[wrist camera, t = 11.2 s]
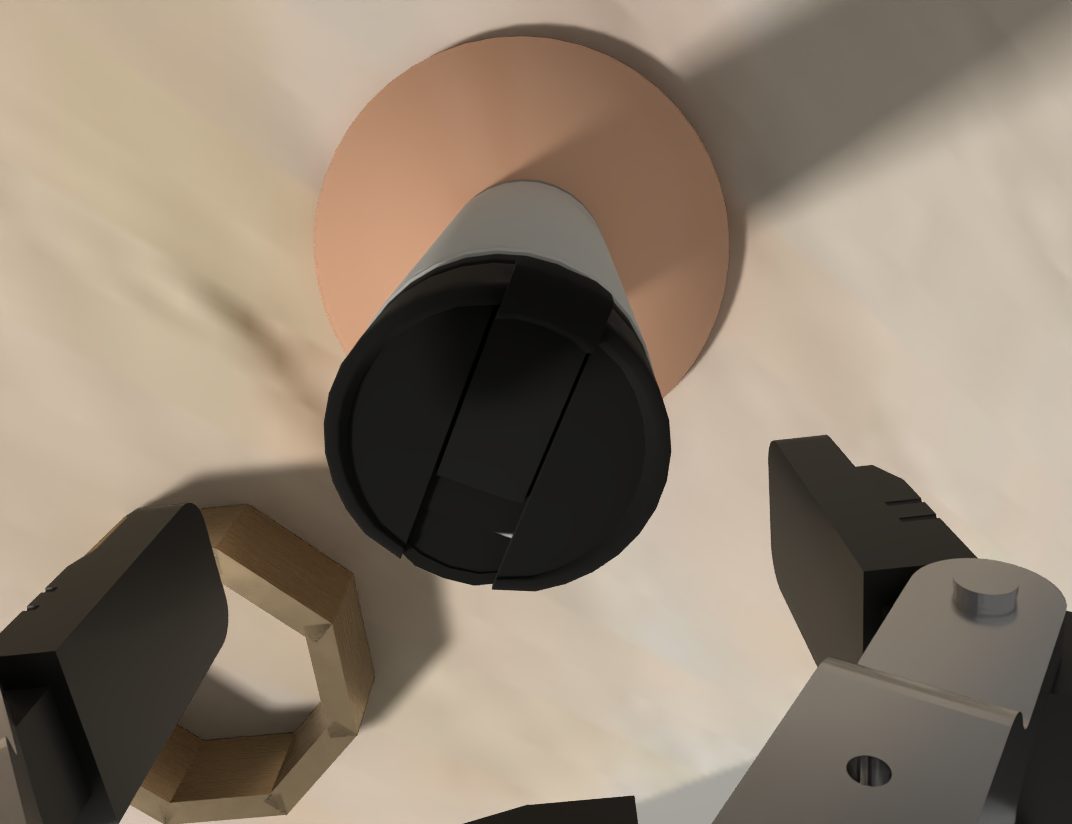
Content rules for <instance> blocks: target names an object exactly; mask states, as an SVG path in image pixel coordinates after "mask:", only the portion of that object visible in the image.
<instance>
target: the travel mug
mask: <svg viewBox="0 0 1072 824" xmlns="http://www.w3.org/2000/svg"><path fill="white" fill-rule="evenodd" d="M324 439H325V454H326V458H327V462H328V466H329V469H330V473H331V477H332V481H333V483H334V485H335V487H336V489H337V491H338V493H339V496H340V498H341V500H342V502H343V504H344V506H345V508H346V509H347V511H348V512H349V513H350V515H351V516H352V517H353V519H354V520H355V521H356V523H357V524H358V525H359V527H360V528H361V529H362V530H363V532H364V533H365V534H366V535H368V536H369V537H370V538H372V539H373V540H375V541H376V542H378V543H379V544H380V545H382V546H383V547H385V548H386V549H387V550H389V551H390V552H392V553H393V554H395V555H396V556H397V557H399V558H400V559H401V556H402V553H403V554H404V555H405V556H406V557H407V558H408V559H409V560H410V561H411V562H412V563H413V564H414V565H415V566H417V567H420V568H422V569H424V570H426V571H429V572H431V573H433V574H436V575H438V576H440V577H443V578H446V579H450V580H454V581H458V582H462V583H466V584H470V585H484V584H493V585H492V589H493V590H516V591H539V590H543V589H547V588H551V587H555V586H559V585H563V584H566V583H569V582H571V581H573V580H576V579H578V578H580V577H582V576H585V575H587V574H589V573H592V572H594V571H595V570H597V569H598V568H600V567H601V566H603V565H604V564H605V563H607V562H608V561H610V560H611V559H613V558H614V557H616V556H617V555H619V554H620V553H621V552H622V551H623V550H624V549H625V548H626V547H627V546H628V545H629V544H630V543H631V542H632V541H633V540H634V539H635V538H636V537H637V536H638V535H639V534H640V532H641V531H642V529H643V528H644V526H645V525H646V523H647V522H648V520H649V519H650V517H651V516H652V514H653V513H654V511H655V509H656V507H657V505H658V502H659V500H660V497H661V494H662V492H663V489H664V487H665V484H666V482H667V476H668V469H669V463H670V456H671V440H670V427H669V418H668V415H667V412H666V408H665V405H664V402H663V399H662V395H661V392H660V389H659V386H658V384H657V381H656V379H655V376H654V371H653V367H652V364H651V361H650V358H649V354H648V351H647V348H646V344H645V342H644V339H643V337H642V334H641V331H640V329H639V326H638V324H637V321H636V319H635V316H634V314H633V311H632V309H631V306H630V304H629V301H628V299H627V296H626V294H625V291H624V288H623V286H622V283H621V281H620V278H619V276H618V273H617V271H616V268H615V266H614V263H613V261H612V258H611V256H610V253H609V251H608V248H607V245H606V243H605V240H604V238H603V236H602V233H601V230H600V228H599V226H598V225H597V223H596V221H595V219H594V217H593V215H592V214H591V213H590V212H589V211H588V209H587V208H586V207H585V206H584V205H583V203H582V202H581V201H579V200H578V199H577V198H576V197H574V196H573V195H572V194H571V193H569V192H567V191H565V190H564V189H562V188H560V187H558V186H556V185H553V184H550V183H546V182H543V181H539V180H527V179H519V180H512V181H505V182H502V183H499V184H497V185H494V186H491V187H489V188H487V189H485V190H484V191H482V192H480V193H479V194H477V195H476V196H475V197H473V198H472V199H471V200H470V201H469V202H468V203H467V204H466V205H465V206H464V207H463V208H462V209H461V210H460V212H459V213H458V214H457V215H456V216H455V218H454V219H453V220H452V221H451V223H450V224H449V225H448V226H447V227H446V229H445V230H444V231H443V232H442V234H441V235H440V236H439V237H438V238H437V240H436V241H435V242H434V243H433V245H432V246H431V247H430V248H429V249H428V251H427V252H426V253H425V254H424V255H423V257H422V258H421V259H420V260H419V262H418V263H417V264H416V265H415V266H414V268H413V269H412V270H411V271H410V273H409V274H408V275H407V276H406V277H405V279H404V280H403V281H402V282H401V283H400V285H399V286H398V287H397V288H396V290H395V291H394V292H393V293H392V295H391V296H390V297H389V298H388V299H387V301H386V302H385V303H384V305H383V306H382V308H381V309H380V310H379V312H378V313H377V314H376V316H375V317H374V319H373V320H372V321H371V323H370V324H369V326H368V329H367V330H366V331H365V333H364V334H363V335H362V336H361V338H360V339H359V340H358V342H357V343H356V344H355V346H354V347H353V349H352V350H351V351H350V353H349V354H348V356H347V357H346V358H345V360H344V361H343V362H342V364H341V366H340V368H339V371H338V373H337V375H336V378H335V380H334V383H333V385H332V387H331V390H330V392H329V396H328V402H327V408H326V413H325V419H324Z"/></svg>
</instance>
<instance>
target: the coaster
mask: <svg viewBox="0 0 1072 824" xmlns="http://www.w3.org/2000/svg"><path fill="white" fill-rule="evenodd" d="M519 179H527V180H539V181H543V182H546V183H550V184H553V185H556V186H558V187H560V188H562V189H564V190H565V191H567V192H569V193H571V194H572V195H573V196H574V197H576V198H577V199H578V200H579V201H581V202H582V203H583V205H584V206H585V207H586V208H587V209H588V211H589V212H590V213H591V214H592V215H593V217H594V219H595V221H596V223H597V225H598V226H599V228H600V230H601V233H602V236H603V238H604V240H605V243H606V245H607V248H608V251H609V253H610V256H611V258H612V261H613V263H614V266H615V268H616V271H617V273H618V276H619V278H620V281H621V283H622V286H623V288H624V291H625V294H626V296H627V299H628V301H629V304H630V306H631V309H632V311H633V314H634V316H635V319H636V321H637V324H638V326H639V329H640V331H641V334H642V337H643V339H644V342H645V344H646V348H647V351H648V354H649V358H650V361H651V364H652V367H653V371H654V376H655V379H656V381H657V384H658V386H659V389H660V392H661V395H662V399H663V398H664V397H665V396H666V395H667V394H668V393H669V392H670V391H671V390H672V389H673V388H674V387H675V386H676V385H677V384H678V383H679V381H680V380H681V379H682V377H683V376H684V375H685V374H686V372H687V371H688V370H689V368H690V367H691V366H692V365H693V363H694V362H695V360H696V358H697V357H698V355H699V353H700V352H701V350H702V348H703V346H704V345H705V343H706V341H707V339H708V337H709V335H710V332H711V330H712V328H713V325H714V323H715V321H716V319H717V316H718V312H719V309H720V306H721V302H722V299H723V295H724V292H725V286H726V279H727V273H728V266H729V229H728V220H727V211H726V206H725V202H724V198H723V194H722V190H721V186H720V182H719V179H718V177H717V174H716V172H715V169H714V167H713V164H712V162H711V159H710V157H709V155H708V153H707V151H706V149H705V147H704V146H703V144H702V142H701V140H700V139H699V137H698V135H697V133H696V131H695V130H694V129H693V127H692V126H691V125H690V123H689V122H688V121H687V119H686V118H685V117H684V115H683V114H682V113H681V111H680V110H679V109H678V108H677V107H676V106H675V105H674V104H673V103H672V102H671V101H670V100H669V99H668V98H667V97H666V96H665V95H664V94H663V93H662V92H661V91H660V90H659V89H658V88H657V87H656V86H655V85H653V84H652V83H651V82H649V81H648V80H647V79H646V78H644V77H643V76H642V75H640V74H639V73H638V72H636V71H635V70H633V69H632V68H630V67H628V66H626V65H624V64H623V63H621V62H619V61H617V60H616V59H614V58H612V57H610V56H608V55H606V54H603V53H600V52H598V51H595V50H593V49H590V48H587V47H585V46H582V45H579V44H574V43H570V42H566V41H561V40H557V39H553V38H541V37H529V36H514V37H497V38H490V39H485V40H480V41H475V42H470V43H465V44H462V45H459V46H457V47H454V48H451V49H448V50H445V51H443V52H440V53H437V54H435V55H433V56H431V57H430V58H428V59H426V60H424V61H422V62H420V63H418V64H416V65H414V66H412V67H411V68H410V69H408V70H407V71H405V72H404V73H403V74H401V75H400V76H398V77H397V78H396V79H394V80H393V81H391V82H390V83H389V84H388V85H387V86H386V87H384V88H383V89H382V90H381V91H380V92H379V93H378V94H377V95H376V96H375V97H374V98H373V99H372V100H371V101H370V102H369V103H368V104H367V105H366V106H365V108H364V109H363V110H362V112H361V113H360V114H359V115H358V117H357V118H356V119H355V120H354V122H353V123H352V124H351V125H350V127H349V129H348V130H347V132H346V134H345V136H344V137H343V139H342V141H341V142H340V144H339V146H338V148H337V149H336V151H335V154H334V156H333V158H332V161H331V163H330V166H329V168H328V170H327V173H326V175H325V179H324V182H323V186H322V190H321V194H320V197H319V201H318V207H317V215H316V223H315V264H316V271H317V279H318V285H319V289H320V293H321V296H322V300H323V304H324V308H325V311H326V313H327V316H328V318H329V321H330V323H331V326H332V328H333V331H334V333H335V335H336V337H337V339H338V341H339V342H340V344H341V346H342V348H343V349H344V351H345V353H346V355H347V356H348V354H349V353H350V351H351V350H352V349H353V347H354V346H355V344H356V343H357V342H358V340H359V339H360V338H361V336H362V335H363V334H364V333H365V331H366V330H367V329H368V326H369V324H370V323H371V321H372V320H373V319H374V317H375V316H376V314H377V313H378V312H379V310H380V309H381V308H382V306H383V305H384V303H385V302H386V301H387V299H388V298H389V297H390V296H391V295H392V293H393V292H394V291H395V290H396V288H397V287H398V286H399V285H400V283H401V282H402V281H403V280H404V279H405V277H406V276H407V275H408V274H409V273H410V271H411V270H412V269H413V268H414V266H415V265H416V264H417V263H418V262H419V260H420V259H421V258H422V257H423V255H424V254H425V253H426V252H427V251H428V249H429V248H430V247H431V246H432V245H433V243H434V242H435V241H436V240H437V238H438V237H439V236H440V235H441V234H442V232H443V231H444V230H445V229H446V227H447V226H448V225H449V224H450V223H451V221H452V220H453V219H454V218H455V216H456V215H457V214H458V213H459V212H460V210H461V209H462V208H463V207H464V206H465V205H466V204H467V203H468V202H469V201H470V200H471V199H472V198H473V197H475V196H476V195H477V194H479V193H480V192H482V191H484V190H485V189H487V188H489V187H491V186H494V185H497V184H499V183H502V182H505V181H512V180H519Z"/></svg>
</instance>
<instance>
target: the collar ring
mask: <svg viewBox="0 0 1072 824" xmlns="http://www.w3.org/2000/svg"><path fill="white" fill-rule="evenodd" d="M199 510H200V512H201V513H202V516H203V518H204V521H205V524H206V528H207V531H208V535H209V539H210V542H211V546H212V549H213V553H214V557H215V560H216V564H217V567H218V571H219V574H220V578H221V582H222V584H224V585H225V586H227V587H229V588H230V589H232V590H233V591H235V592H236V593H238V594H240V595H241V596H243V597H244V598H246V599H247V600H249V601H250V602H252V603H254V604H255V605H257V606H258V607H260V608H261V609H263V610H264V611H266V612H268V613H269V614H271V615H272V616H274V617H275V618H277V619H279V620H280V621H282V622H283V623H285V624H286V625H288V626H289V627H291V628H293V629H294V630H296V631H297V632H299V633H300V634H302V635H303V636H305V637H306V640H307V644H308V648H309V653H310V657H311V661H312V665H313V669H314V674H315V678H316V682H317V686H318V690H319V694H320V699H321V702H320V704H319V705H318V706H317V707H316V708H315V709H314V711H313V712H312V713H311V714H310V715H309V716H308V718H307V719H306V720H305V721H304V722H303V724H302V725H301V726H300V727H299V728H298V729H297V731H296V732H295V733H284V734H273V735H261V736H250V737H239V738H228V739H217V740H206V741H203V740H201V739H199V738H198V737H196V736H194V735H193V734H191V733H189V732H188V731H186V730H184V729H183V728H181V727H179V726H178V725H176V726H175V728H174V730H173V731H172V733H171V735H170V736H169V738H168V740H167V742H166V743H165V745H164V747H163V748H162V750H161V752H160V754H159V755H158V757H157V759H156V760H155V762H154V764H153V766H152V767H151V769H150V771H149V772H148V774H147V776H146V778H145V779H144V781H143V783H142V785H141V786H140V788H139V790H138V791H137V793H136V795H135V797H134V798H133V800H132V802H131V803H130V805H131V806H133V807H135V808H137V809H138V810H140V811H142V812H144V813H145V814H147V815H149V816H151V817H152V818H154V819H156V820H158V821H159V822H161V823H163V824H183V823H195V822H206V821H218V820H230V819H242V818H253V817H265V816H277V815H287V814H288V813H289V812H290V811H291V809H292V808H293V807H294V806H295V805H296V804H297V803H298V801H299V800H300V799H301V798H302V797H303V796H304V795H305V794H306V792H307V791H308V790H309V789H310V788H311V787H312V786H313V785H314V783H315V782H316V781H317V780H318V779H319V778H320V777H321V775H322V774H323V773H324V772H325V771H326V770H327V769H328V768H329V766H330V765H331V764H332V763H333V762H334V761H335V760H336V758H337V757H338V756H339V755H340V754H341V753H342V752H343V751H344V749H345V748H346V747H347V746H348V745H349V744H350V743H351V742H352V740H353V739H354V738H355V737H356V736H357V735H358V732H359V729H360V725H361V722H362V719H363V715H364V712H365V709H366V705H367V702H368V699H369V695H370V692H371V689H372V685H373V682H374V679H375V676H374V671H373V667H372V662H371V657H370V652H369V648H368V643H367V638H366V634H365V629H364V624H363V619H362V615H361V610H360V605H359V601H358V596H357V591H356V586H355V582H354V577H353V573H351V572H349V571H348V570H346V569H345V568H343V567H342V566H340V565H339V564H337V563H336V562H334V561H333V560H331V559H330V558H328V557H327V556H325V555H324V554H322V553H321V552H319V551H318V550H316V549H315V548H313V547H312V546H310V545H309V544H307V543H306V542H304V541H303V540H301V539H300V538H298V537H297V536H295V535H294V534H292V533H291V532H289V531H288V530H286V529H285V528H283V527H282V526H280V525H279V524H277V523H276V522H274V521H273V520H271V519H270V518H268V517H267V516H265V515H264V514H262V513H261V512H259V511H258V510H256V509H255V508H253V507H252V506H250V505H249V504H243V505H234V506H224V507H214V508H205V509H199ZM127 517H128V516H127ZM127 517H126V516H125V517H124V518H123V519H122V520H121V521H120V522H119V523H118V524H117V525H116V526H115V527H113V528H112V529H111V530H110V531H109V532H108V533H107V534H106V535H105V536H104V537H103V538H102V539H101V540H100V541H99V542H98V543H97V544H96V545H95V546H94V547H93V548H92V549H91V550H90V551H89V552H88V553H87V554H89V553H90V552H92V551H94V550H95V549H96V548H97V547H98V546H99V545H100V544H101V543H102V542H103V541H104V540H105V539H106V538H107V537H108V536H109V535H110V534H111V533H112V532H113V531H114V530H115V529H116V528H117V527H118V526H119V525H120V524H121V523H122V522H123V521H124V520H125V519H126V518H127ZM87 554H86V555H87ZM86 555H85V556H86Z"/></svg>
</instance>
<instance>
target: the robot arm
mask: <svg viewBox="0 0 1072 824" xmlns="http://www.w3.org/2000/svg"><path fill="white" fill-rule="evenodd" d="M768 466H769V496H770V527H771V550H772V558H773V565H774V570H775V574H776V578H777V582H778V585H779V588H780V590H781V592H782V595H783V597H784V599H785V601H786V603H787V605H788V607H789V609H790V611H791V613H792V615H793V617H794V619H795V621H796V623H797V626H798V628H799V630H800V632H801V634H802V636H803V638H804V640H805V642H806V644H807V646H808V648H809V650H810V652H811V655H812V657H813V659H814V661H815V663H816V665H817V667H818V668H817V669H816V670H815V672H814V673H813V675H812V676H811V678H810V679H809V681H808V682H807V684H806V685H805V687H804V688H803V690H802V691H801V693H800V694H799V696H798V697H797V698H796V700H795V701H794V703H793V704H792V706H791V707H790V709H789V710H788V712H787V713H786V715H785V716H784V718H783V719H782V721H781V722H780V724H779V725H778V726H777V728H776V729H775V731H774V732H773V734H772V735H771V737H770V738H769V740H768V741H767V743H766V744H765V746H764V747H763V749H762V750H761V752H760V753H759V754H758V756H757V757H756V759H755V760H754V762H753V763H752V765H751V766H750V768H749V769H748V771H747V772H746V774H745V775H744V777H743V778H742V780H741V781H740V783H739V784H738V785H737V787H736V788H735V790H734V791H733V793H732V794H731V796H730V797H729V799H728V800H727V802H726V803H725V805H724V806H723V808H722V809H721V810H720V812H719V814H718V815H717V817H716V818H715V819H714V821H713V822H712V824H1072V612H1069V611H1066V607H1067V604H1066V600H1065V598H1064V596H1063V594H1062V593H1061V591H1060V590H1059V589H1058V588H1057V587H1056V586H1055V585H1054V584H1052V583H1051V582H1050V581H1048V580H1047V579H1046V578H1044V577H1042V576H1040V575H1038V574H1037V573H1035V572H1032V571H1030V570H1028V569H1025V568H1022V567H1019V566H1016V565H1013V564H1009V563H1005V562H1001V561H995V560H989V559H978V558H977V557H976V556H975V555H974V554H973V553H972V552H971V551H970V550H969V548H968V547H967V546H966V545H965V544H964V543H963V542H962V541H961V540H960V539H959V538H958V537H957V536H956V535H955V534H954V533H953V532H952V530H951V529H950V528H949V527H948V526H947V525H946V524H945V523H944V522H943V521H942V520H941V519H940V518H936V514H935V512H934V511H933V510H932V509H931V508H930V507H929V506H928V505H927V504H926V503H925V502H922V501H921V498H920V497H919V496H918V494H917V493H916V492H915V491H914V490H913V489H912V488H911V487H910V486H909V485H908V484H907V483H906V482H905V481H904V480H903V479H901V478H899V477H897V476H895V475H893V474H890V473H888V472H886V471H884V470H882V469H880V468H878V467H875V466H873V465H868V466H858V467H855V466H854V465H853V464H852V463H851V461H850V460H849V459H848V458H847V457H846V456H845V454H844V453H843V452H842V451H841V450H840V448H839V447H838V446H837V445H836V444H835V443H834V441H833V440H832V439H831V438H830V437H829V436H828V435H820V436H811V437H802V438H793V439H783V440H774V441H772V442H771V443H770V447H769V455H768ZM45 589H46V592H44V593H40V594H39V595H38V596H37V597H36V598H35V599H34V600H33V601H32V602H31V603H30V604H29V605H28V606H27V611H22V612H21V613H20V614H19V615H18V616H17V617H16V618H15V619H14V620H13V621H12V622H11V623H10V624H9V625H8V626H7V627H6V628H5V629H4V630H3V631H2V632H1V633H0V824H119V822H120V821H121V819H122V817H123V815H124V814H125V812H126V810H127V809H128V807H129V805H130V803H131V802H132V800H133V798H134V797H135V795H136V793H137V791H138V790H139V788H140V786H141V785H142V783H143V781H144V779H145V778H146V776H147V774H148V772H149V771H150V769H151V767H152V766H153V764H154V762H155V760H156V759H157V757H158V755H159V754H160V752H161V750H162V748H163V747H164V745H165V743H166V742H167V740H168V738H169V736H170V735H171V733H172V731H173V730H174V728H175V726H176V724H177V723H178V721H179V719H180V718H181V716H182V714H183V712H184V711H185V709H186V707H187V706H188V704H189V702H190V700H191V699H192V697H193V695H194V694H195V692H196V690H197V688H198V687H199V685H200V683H201V682H202V680H203V678H204V676H205V675H206V673H207V671H208V669H209V668H210V666H211V664H212V663H213V661H214V659H215V657H216V656H217V654H218V652H219V651H220V649H221V647H222V645H223V643H224V641H225V638H226V634H227V628H228V606H227V600H226V596H225V592H224V589H223V585H222V582H221V578H220V574H219V571H218V567H217V564H216V560H215V557H214V553H213V549H212V546H211V542H210V539H209V535H208V531H207V528H206V524H205V521H204V518H203V516H202V513H201V512H200V510H199V509H198V507H197V506H196V505H194V504H192V503H183V504H174V505H165V506H156V507H146V508H138V509H136V510H134V511H133V512H132V513H131V514H130V515H129V516H128V517H127V518H126V519H125V520H124V521H123V522H122V523H121V524H120V525H119V526H118V527H117V528H116V529H115V530H114V531H113V532H112V533H111V534H110V535H109V536H108V537H107V538H106V539H105V540H104V541H103V542H102V543H101V544H100V545H99V546H98V547H97V548H96V549H95V550H94V551H92V552H90V553H89V554H87V555H86V556H84V557H82V558H81V559H79V560H77V561H76V562H74V563H72V564H71V565H69V566H67V567H66V568H65V569H64V570H63V571H62V572H61V573H60V574H59V575H58V576H57V577H56V578H55V579H54V580H53V581H52V582H51V583H50V584H49V585H48V586H47V587H46V588H45ZM464 824H638V820H637V812H636V805H635V797H634V796H624V797H613V798H602V799H590V800H579V801H568V802H557V803H546V804H535V805H525V806H522V807H518V808H515V809H512V810H508V811H505V812H501V813H498V814H495V815H491V816H488V817H484V818H481V819H478V820H474V821H471V822H468V823H464Z"/></svg>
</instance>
